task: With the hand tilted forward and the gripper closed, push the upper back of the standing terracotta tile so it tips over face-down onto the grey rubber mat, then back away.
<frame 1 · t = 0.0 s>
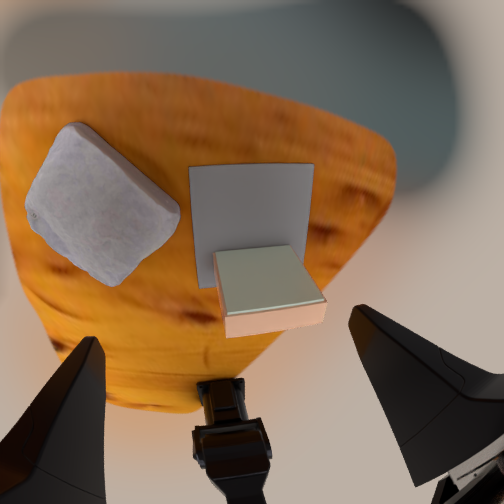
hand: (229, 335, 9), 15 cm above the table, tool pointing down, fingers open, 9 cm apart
tile: (252, 258, 25), resting on mat
stone block: (98, 205, 20), on the table
mat: (252, 228, 23), on the table
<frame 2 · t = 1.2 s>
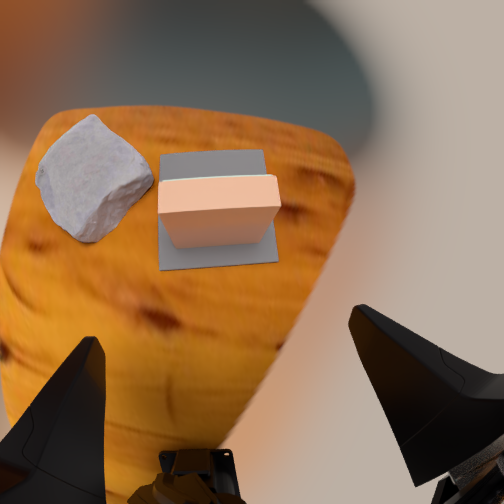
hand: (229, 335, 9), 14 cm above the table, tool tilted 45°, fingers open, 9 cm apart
tile: (216, 234, 23), resting on mat
stone block: (91, 185, 23), on the table
mat: (214, 204, 24), on the table
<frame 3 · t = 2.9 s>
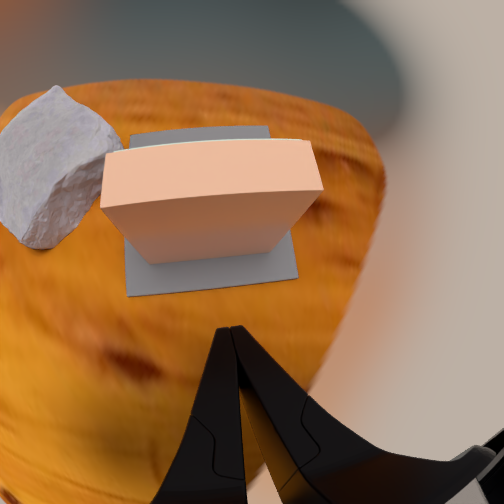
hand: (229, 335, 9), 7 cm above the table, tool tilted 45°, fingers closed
tile: (208, 241, 16), resting on mat
stone block: (49, 174, 16), on the table
mat: (203, 198, 17), on the table
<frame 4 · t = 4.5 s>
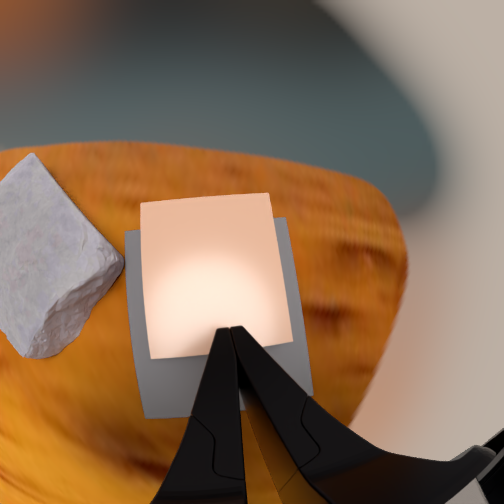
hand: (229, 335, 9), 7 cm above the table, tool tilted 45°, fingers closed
tile: (221, 350, 13), point 1 cm above the table, tilted 90°, touching mat
stone block: (39, 263, 14), on the table
mat: (216, 318, 15), on the table
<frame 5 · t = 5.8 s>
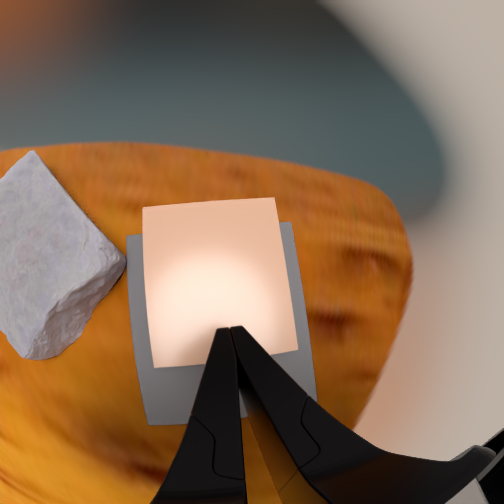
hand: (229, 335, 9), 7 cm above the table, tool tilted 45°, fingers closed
tile: (225, 358, 13), point 1 cm above the table, tilted 90°, touching mat
stone block: (40, 262, 14), on the table
mat: (219, 325, 15), on the table
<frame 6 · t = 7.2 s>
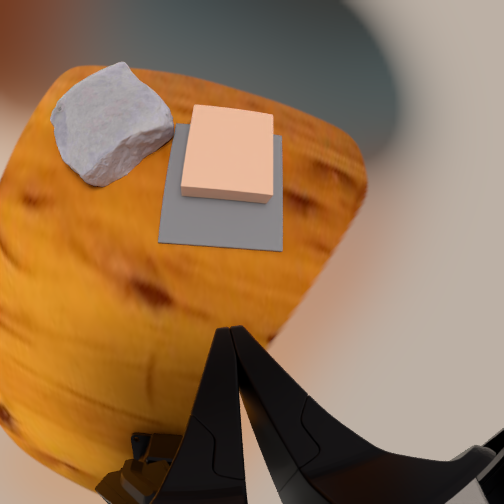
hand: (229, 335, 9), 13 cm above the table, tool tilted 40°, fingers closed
tile: (226, 194, 21), point 1 cm above the table, tilted 90°, touching mat
stone block: (106, 131, 22), on the table
mat: (225, 182, 23), on the table
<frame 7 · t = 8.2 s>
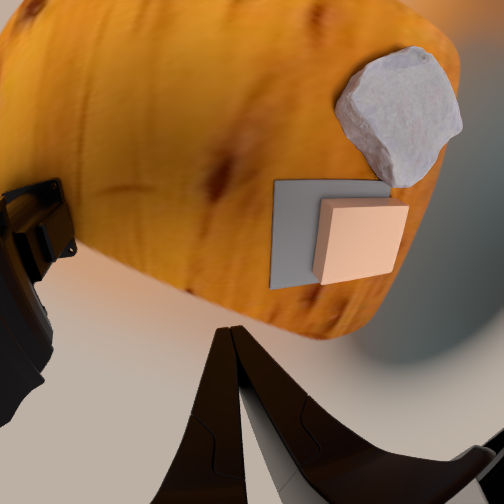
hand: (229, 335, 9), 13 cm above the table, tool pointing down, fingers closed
tile: (321, 243, 22), point 1 cm above the table, tilted 90°, touching mat
stone block: (391, 105, 19), on the table
mat: (332, 233, 24), on the table
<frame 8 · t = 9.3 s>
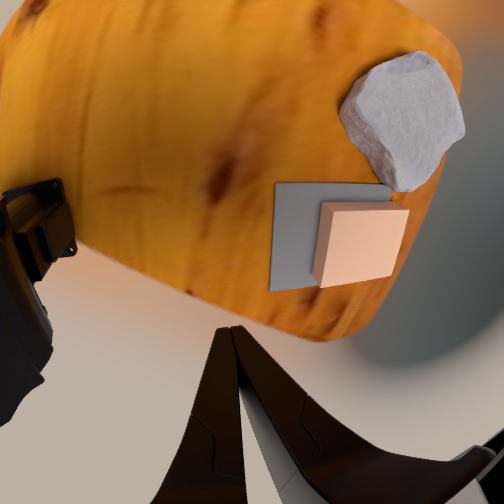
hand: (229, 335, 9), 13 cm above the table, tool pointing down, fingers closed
tile: (321, 246, 22), point 1 cm above the table, tilted 90°, touching mat
stone block: (395, 109, 19), on the table
mat: (332, 236, 24), on the table
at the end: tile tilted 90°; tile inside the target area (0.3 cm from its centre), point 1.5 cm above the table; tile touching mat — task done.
